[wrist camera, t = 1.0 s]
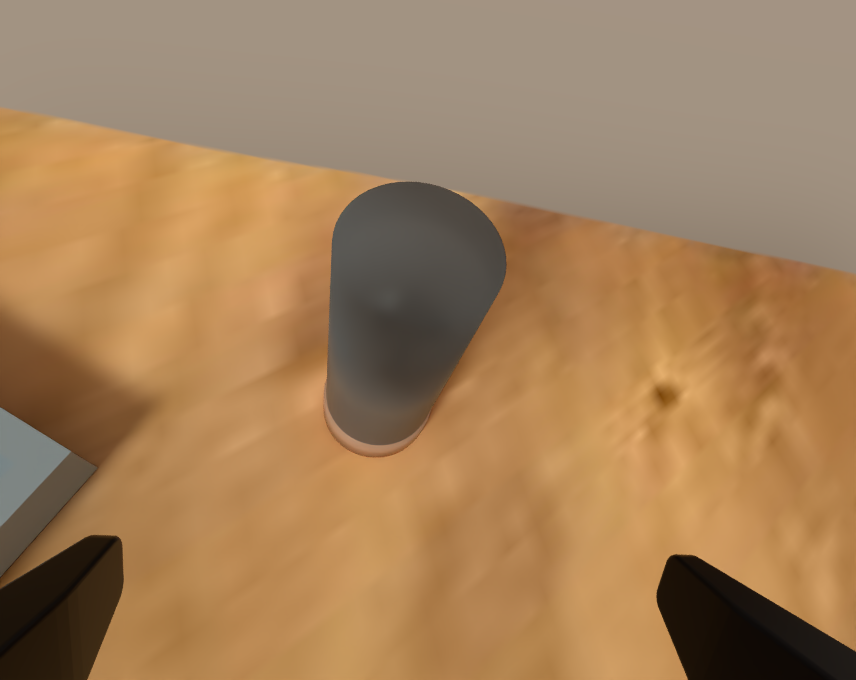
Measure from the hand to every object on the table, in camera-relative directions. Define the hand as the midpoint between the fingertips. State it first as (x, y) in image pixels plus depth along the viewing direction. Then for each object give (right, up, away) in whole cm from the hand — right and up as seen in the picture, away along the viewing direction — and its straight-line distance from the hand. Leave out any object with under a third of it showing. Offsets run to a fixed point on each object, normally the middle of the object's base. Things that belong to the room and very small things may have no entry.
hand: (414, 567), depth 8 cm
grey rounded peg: (-2, +1, +15) cm, 15 cm away
